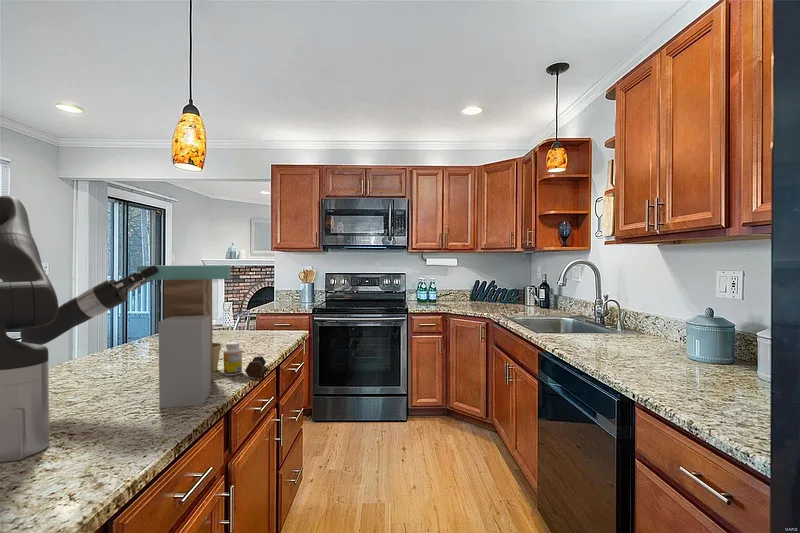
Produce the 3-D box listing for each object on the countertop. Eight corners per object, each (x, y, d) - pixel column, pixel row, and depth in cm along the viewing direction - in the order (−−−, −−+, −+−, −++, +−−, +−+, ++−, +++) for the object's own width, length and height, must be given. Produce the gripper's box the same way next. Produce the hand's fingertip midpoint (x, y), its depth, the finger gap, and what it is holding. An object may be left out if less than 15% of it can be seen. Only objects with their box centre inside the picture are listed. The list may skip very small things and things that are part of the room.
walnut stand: (203, 392, 115) (203, 279, 114) (164, 394, 112) (163, 280, 112) (212, 379, 126) (212, 278, 126) (177, 382, 124) (176, 278, 123)
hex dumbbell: (262, 370, 144) (256, 381, 129) (249, 364, 143) (242, 374, 128) (270, 356, 144) (266, 365, 130) (257, 349, 144) (251, 358, 129)
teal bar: (228, 279, 119) (228, 265, 119) (137, 279, 114) (136, 265, 114) (230, 278, 123) (230, 265, 123) (142, 279, 118) (142, 265, 117)
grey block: (202, 405, 104) (201, 320, 104) (159, 408, 102) (158, 321, 102) (210, 392, 114) (210, 315, 114) (171, 395, 112) (170, 316, 111)
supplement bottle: (224, 372, 135) (224, 341, 135) (242, 370, 137) (242, 340, 137) (222, 376, 130) (222, 345, 130) (241, 375, 131) (241, 344, 131)
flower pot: (192, 368, 139) (192, 344, 139) (222, 365, 143) (222, 341, 143) (191, 376, 131) (190, 349, 131) (222, 372, 135) (222, 346, 134)
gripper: (81, 288, 106) (143, 256, 109) (106, 285, 120) (161, 256, 123) (97, 312, 107) (159, 280, 110) (121, 306, 121) (174, 277, 124)
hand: (159, 268), depth 117 cm, fingers open, 5 cm apart
